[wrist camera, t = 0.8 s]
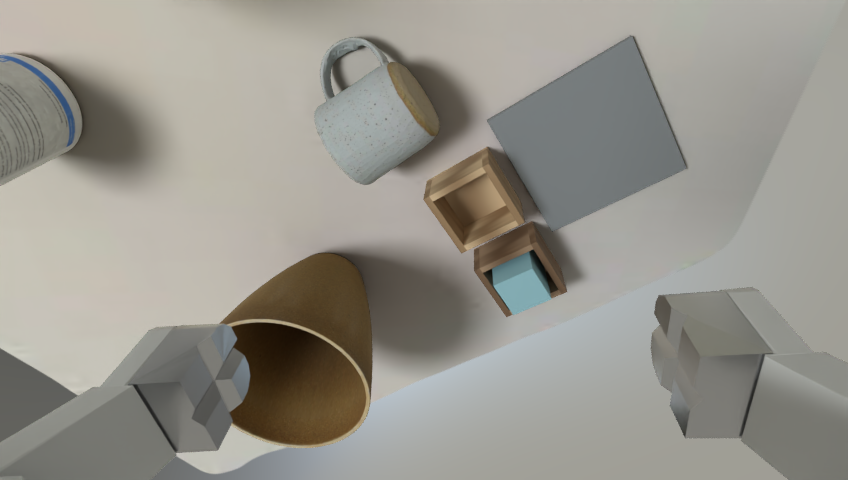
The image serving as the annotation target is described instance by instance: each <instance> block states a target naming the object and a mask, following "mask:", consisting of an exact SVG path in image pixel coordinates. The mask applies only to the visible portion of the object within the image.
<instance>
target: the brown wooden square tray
mask: <svg viewBox="0 0 848 480" xmlns="http://www.w3.org/2000/svg"><path fill="white" fill-rule="evenodd" d="M533 249H534V251H535V252H536V254H537V256H538V257H539V259H540V260H541V262H542V264H543V265H544V268H545V272H546V277H547V281H548V285H549V290H550V294H551V298H553V297H556V296H558V295H561V294H563V293H565V292H567V289H566V286H565V282H564V278H563V275H562V271H561V268H560V267H559V265H558V263H557V262H556V260H555V258H554V257H553V255H552V253H551V252H550V250H549V248H548V247H547V245H546V243H545V242H544V240H543V238H542V237H541V235H540V233H539V232H538V230H537V228H536V227H535V225H534V223H533V222H532V221H531V222H529V223H527V224H525V225H523V226H521V227H519V228H517V229H515V230H513V231H511V232H509V233H507V234H505V235H503V236H501V237H498V238H496V239H494V240H492V241H490V242H488V243H486V244H484V245H482V246H480V247H478V248H476V249H474V271H475V273H476V274H477V276H478V277H479V278H480V280H481V281H482V283H483V284H484V286H485V287H486V288H487V290H488V291H489V293H490V294H491V295H492V297H493V298H494V300H495V301H496V303H497V304H498V305H499V307H500V308H501V310H502V311H503V313H504V314H505V315H506V317H508V316H510V315H513V314H512V312H511V311H510V309H509V308H508V307H507V305H506V304H505V302H504V301H503V299H502V298H501V296H500V295H499V293H498V292H497V291H496V289H495V288H494V286H493V273H492V268H494V267H496V266H499V265H501V264H503V263H505V262H507V261H509V260H512V259H514V258H516V257H518V256H520V255H522V254H525V253H527V252H529V251H531V250H533Z"/></svg>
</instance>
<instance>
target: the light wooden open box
mask: <svg viewBox="0 0 848 480" xmlns="http://www.w3.org/2000/svg"><path fill="white" fill-rule="evenodd" d="M424 201H425V202H426V204H427V205H428V207H429V208H430V209H431V211H432V212H433V214H434V215H435V217H436V218H437V219H438V221H439V222H440V224H441V225H442V226H443V228H444V229H445V231H446V232H447V233H448V235H449V236H450V238H451V239H452V241H453V242H454V243H455V245H456V246H457V248H458V249H459V250H460V252H461V253H463V252H465V251H468V250H470V249H472V248H474V247H476V246H478V245H480V244H482V243H484V242H486V241H488V240H490V239H492V238H494V237H496V236H498V235H500V234H502V233H504V232H506V231H508V230H511V229H513V228H515V227H517V226H519V225H521V224H523V223H525V221H524V216H523V211H522V205H521V202H520V200H519V198H518V197H517V195H516V193H515V192H514V190H513V188H512V187H511V185H510V183H509V182H508V180H507V178H506V177H505V175H504V174H503V172H502V170H501V169H500V167H499V165H498V164H497V162H496V160H495V159H494V157H493V155H492V154H491V152H490V150H489V149H488V147H486V148H484V149H483V150H481V151H479V152H477V153H476V154H474V155H472V156H470V157H468V158H467V159H465V160H463V161H461V162H460V163H458V164H456V165H454V166H453V167H451V168H449V169H447V170H445V171H444V172H442V173H440V174H438V175H437V176H435V177H433V178H431V179H430V180H428V181H427V184H426V189H425V194H424Z"/></svg>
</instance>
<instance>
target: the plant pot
mask: <svg viewBox="0 0 848 480" xmlns="http://www.w3.org/2000/svg"><path fill="white" fill-rule="evenodd" d="M220 324H226V325H228V326H231V328H232V330H233V332H234V334H235V336H236V338H237V341H236V343H235V346H234V348H235V349H236V350H238V351H239V352H240V353H242V354H243V355H245V358H246V360H247V362H248V365H249V371H250V381H249V387H248V391H247V394H246V396H245V398H244V400H243V402H242V403H241V404H240V405H238V406H237V407H236V408H235V409H233V410H232V411H231V416H232V419H233V422H232V424H231V425H232V426H233V427H235V428H236V429H238V430H239V431H241V432H243V433H245V434H247V435H250V436H252V437H254V438H257V439H259V440H262V441H265V442H267V443H271V444H275V445H280V446H285V447H293V448H313V447H320V446H325V445H330V444H333V443H336V442H338V441H341V440H343V439H345V438H346V437H348V436H350V435H351V434H352V433H354V432H355V431H356V430H357V429H358V428H359V427H360V426H361V424H362V423H363V422H364V420H365V418H366V416H367V414H368V411H369V407H370V399H371V383H372V330H371V319H370V311H369V305H368V299H367V295H366V290H365V287H364V283H363V280H362V277H361V274H360V272H359V271H358V269H357V268H356V267H355V265H354V264H353V263H351V262H350V261H349V260H347V259H346V258H344V257H342V256H339V255H336V254H332V253H319V254H315V255H312V256H310V257H308V258H306V259H304V260H302V261H300V262H298V263H296V264H294V265H292V266H291V267H289V268H287V269H286V270H284V271H283V272H281V273H279V274H278V275H276V276H275V277H273V278H272V279H271V280H269V281H268V282H267V283H265V284H264V285H263V286H261V287H260V288H259V289H257V290H256V291H255V292H254V293H252V294H251V295H250V296H249V297H247V298H246V299H245V300H244V301H243V302H242V303H241V304H240V305H238V306H237V307H236V308H235V309H234V310H233V311H232V312H231V313H230V314H229V315H228V316H227V317H226V318H225V319H224V320H223V321H222V322H221V323H220Z"/></svg>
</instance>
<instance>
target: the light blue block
mask: <svg viewBox="0 0 848 480" xmlns="http://www.w3.org/2000/svg"><path fill="white" fill-rule="evenodd" d="M492 273H493V286H494V288H495V289H496V291H497V292H498V293H499V295H500V296H501V298H502V299H503V301H504V302H505V304H506V305H507V307H508V308H509V309H510V311H511V312H512V314H513V315H515V314H517V313H519V312H522V311H524V310H527V309H529V308H531V307H534V306H536V305H539V304H541V303H543V302H546V301H548V300H551V294H550V290H549V285H548V281H547V277H546V272H545V268H544V265H543V264H542V262H541V260H540V259H539V257H538V256H537V254H536V252H535V251H534V249H533V250H531V251H529V252H527V253H525V254H522V255H520V256H518V257H516V258H514V259H512V260H509V261H507V262H505V263H503V264H501V265H499V266H496V267H494V268H492Z"/></svg>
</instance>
